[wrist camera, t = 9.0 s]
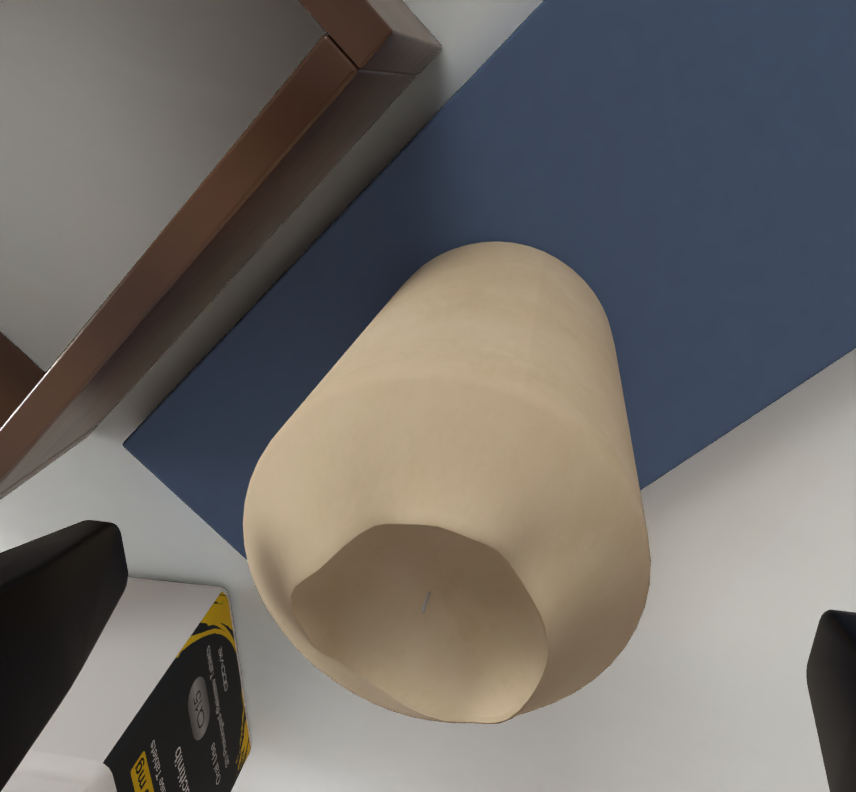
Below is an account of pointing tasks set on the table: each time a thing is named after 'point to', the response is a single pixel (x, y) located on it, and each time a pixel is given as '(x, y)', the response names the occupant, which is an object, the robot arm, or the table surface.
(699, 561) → the table surface
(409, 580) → the candle
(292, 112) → the crate
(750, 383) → the mat
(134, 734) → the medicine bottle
